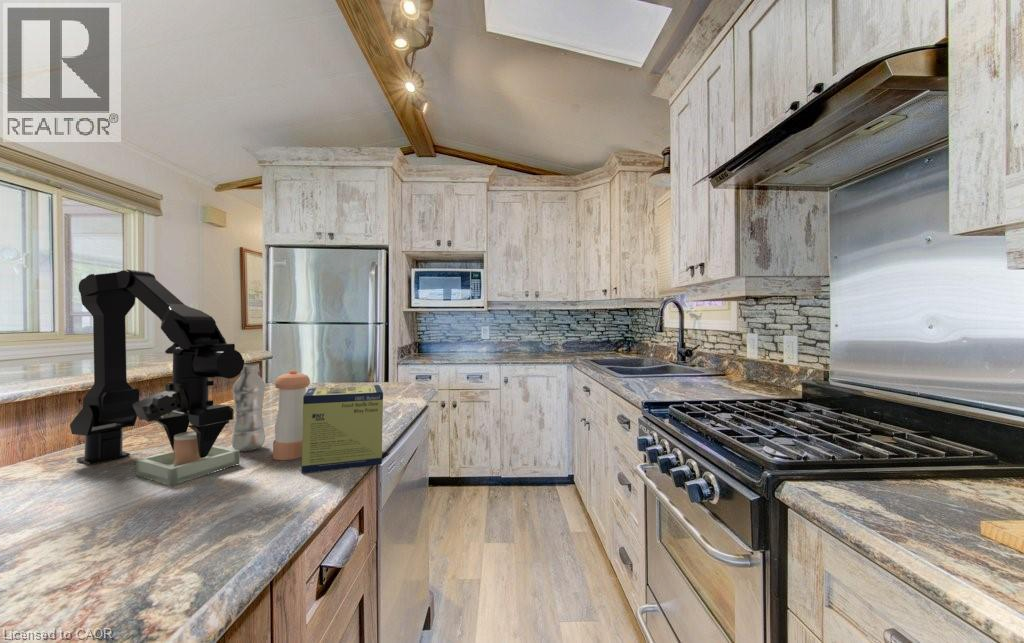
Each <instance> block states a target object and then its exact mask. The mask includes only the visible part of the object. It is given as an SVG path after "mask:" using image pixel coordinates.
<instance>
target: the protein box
mask: <svg viewBox="0 0 1024 643" xmlns="http://www.w3.org/2000/svg"><path fill="white" fill-rule="evenodd" d="M383 409H384V392H383V390H382V387H381V386H380V385H379V384H372V385H371V384H370V385H355V386H352V385H351V386H335V387H334V386H333V387H332V386H331V387H312V388H311V387H310V388H308V389H307V390H306V394H305V395H304V396H303V434H302V457H301V469H300V471H301V474H308V473H311V474H312V473H319V472H326V471H335V470H337V471H338V470H343V469H353V468H361V467H363V468H364V467H370V466H371V467H372V466H379V465H382V462H383V459H382V458H383V415H384V410H383Z"/></svg>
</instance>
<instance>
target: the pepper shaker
mask: <svg viewBox="0 0 1024 643" xmlns="http://www.w3.org/2000/svg"><path fill="white" fill-rule="evenodd" d="M310 383H311V379H310V377H309V376H308V375H307V374H304V373H302V372H298V371H297V370H296V369H291V370H289V371H288V373H283V374H281V375H278V376H277V377H276V379H275V381H274V386H275V388H276V389H278V405H277V406H278V408H277V413H276V419H275V424H274V434H275V435H274V436H275V437H274V440H273V444H272V458H273V459H274V460H277V461H288V460H289V461H290V460H295V459H302V434H303V396H304V395H305V394H306V393H307V387H309V385H310Z"/></svg>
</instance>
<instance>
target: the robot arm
mask: <svg viewBox="0 0 1024 643" xmlns="http://www.w3.org/2000/svg"><path fill="white" fill-rule="evenodd" d="M78 292H79V294H80V301H81V305H83V307H84V308H85V309H86V310H87V311H88V312H89V314H91V316H92V325H93V327H92V328H93V374H94V375H93V379H94V381H93V382H94V383H93V385H92V386H91V387H90V389H89V390H88V392H87V393H86V394H85V395H84V396H83V400H82V408H81V409H80V410H79V412H78V413H77V415H76V416H75V417H74V419H73V420H72V421H71V423H70V424H69V427H70V431H71V432H70V433H71V434H72V435H77V436H84V456H81V457H77V458H76V462H80V463H82V464H83V463H84V464H87V465H94V464H100V463H103V462H108V461H111V460H112V461H113V460H117V459H120V458H121V459H122V458H125V457H130V456H131V453H130V452H125V451H124V450H123V441H124V439H123V435H124V434H123V433H124V428H128V427H129V428H130V427H135V425H136V421H137V418H138V420H139V421H142V420H143V421H146V422H156V423H158V424H159V425H161V426H162V427H163V428H164V432H165V433H166V435H167V438H168V441H169V443H170V447H171V450H172V451H174V435H176V434H179V433H183V432H188V429H189V428H190V429H191V431H195V432H196V435H197V443H198V451H199V456H200V458H203V457H206V456H207V455H208V453H209V451H210V450H211V448H212V446H213V445H215V443H216V441H217V439H218V438H219V436H220V434H221V433H222V432H223V429H224V428H225V426H226V425H227V424H229V423H230V421H231V420H235V418H234V417H235V415H234V414H235V408H232V407H231V406H230V405H227V404H214V400H213V399H209V392H210V391H209V387H212V386H214V380H212V379H210V378H213V379H233V378H236V377H238V375H241V371H242V370H243V367H244V364H245V359H244V358H243V355H242V354H241V353H240V351H238V350H236V345H235V343H227V341H226V338H225V337H224V336H223V334H222V332H221V331H220V329H219V327H218V325H217V322H216V320H215V319H214V318H213V316H211V315H209V314H208V313H206V312H204V311H202V310H200V309H197V308H194V307H191V306H188V305H186V304H185V303H184V302H183V301H182V300H180V299H179V298H178V297H177V296H176V295H174V294H173V293H172V292H171V291H170V290H169V289H167V288H166V287H165V286H164V285H163V284H162V283H161V282H159V281H158V280H157V278H156V276H155V275H154V274H153V273H151V272H149V271H142V270H135V269H124V270H120V271H116V272H110V273H109V272H108V273H99V274H96V273H95V274H94V273H91V274H88V275H86V277H84V278H82V279H81V280H80V281H79V283H78ZM136 299H137V300H138V301H139V302H141V303H142V304H143V305H144V306H145V307H146V308H148V309H149V311H151V312H152V313H153V314H154V315H155V316H156V317H157V318H158V319H159V320H160V321H161V324H160V330H161V331H162V332H163V333H164V335H165V336H166V338H168V340H169V341H170V342H171V343H173V344H172V345H171V346H169V347H167V349H165V354H167V355H172V379H171V380H172V381H168V382H167V383H166V384H165V390H164V391H160V392H159V393H156V394H153V395H151V396H148V397H146V398H143V399H141V400H140V393H141V392H140V390H139V389H138V388H134V387H133V386H131V384H130V383H129V382H128V379H127V377H128V376H127V375H128V374H127V335H126V331H127V330H126V328H127V326H126V325H127V324H126V316H127V315H128V314H129V312H130V311H131V309H132V308H134V306H135V304H136Z"/></svg>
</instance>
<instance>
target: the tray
mask: <svg viewBox="0 0 1024 643" xmlns="http://www.w3.org/2000/svg"><path fill="white" fill-rule="evenodd" d="M173 454H174V451H173V450H170V451H166V452H163V453H159V454H154V455H151V456H146V457H142V458H138V459H136V460H135V476H137V475H138V476H137V477H140V476H141V478H143V477H145V478H144V479H147V478H149V479H148V480H150V479H152V480H151V481H153V480H155V481H154V482H157V481H158V482H157V483H160V482H161V483H160V484H163V483H165V484H164V485H166V484H167V486H171V485H172V486H175V485H178V484H181V482H182V483H185V482H188V481H191V480H195V479H197V478H196V477H198V478H200V477H199V476H201V477H203V476H202V475H204V476H207V475H206V474H208V473H211V472H214V471H217V470H220V469H224V468H227V467H230V466H233V465H236V464H239V465H240V451H239V450H235V449H234V448H229V447H224V446H222V445H216V444H213V446H212V448H211V450H210V451H209V453H208V455H207V456H206V457H205V458H204V459H201V460H197V461H193V462H190V463H186V464H182V465H179V466H175V467H174V466H173ZM230 468H231V467H230ZM227 469H228V468H227ZM224 470H225V469H224ZM217 472H218V471H217ZM214 473H215V472H214ZM211 474H212V473H211ZM208 475H209V474H208ZM194 478H195V479H194ZM190 479H191V480H190ZM187 480H188V481H187ZM184 481H185V482H184ZM172 486H171V487H172Z"/></svg>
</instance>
